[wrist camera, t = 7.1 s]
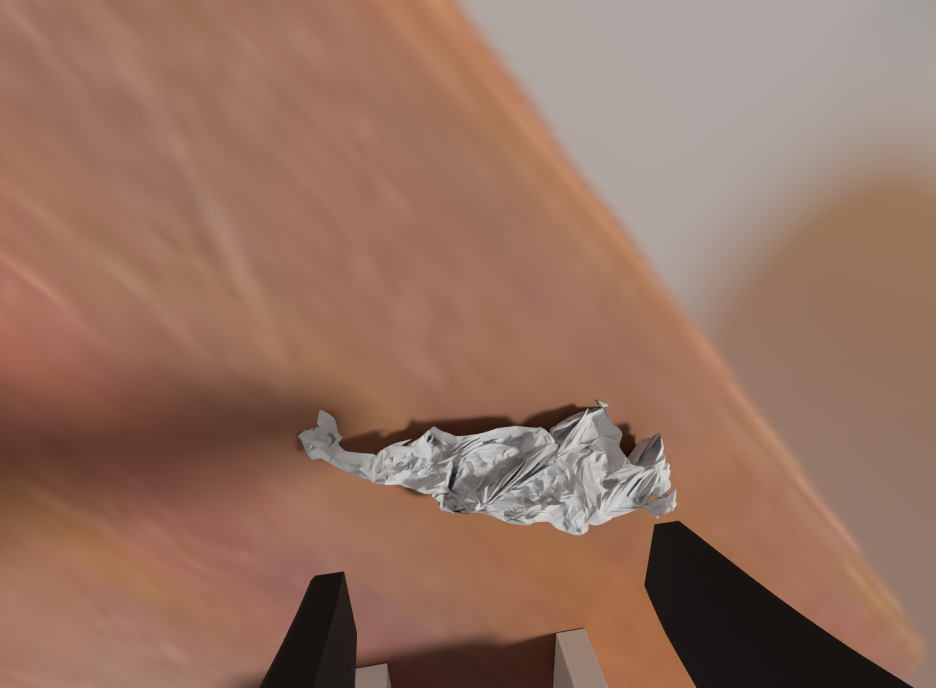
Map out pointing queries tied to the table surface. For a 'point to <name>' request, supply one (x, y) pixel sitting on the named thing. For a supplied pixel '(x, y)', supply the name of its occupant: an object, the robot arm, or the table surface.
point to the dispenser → (574, 665)
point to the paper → (518, 470)
